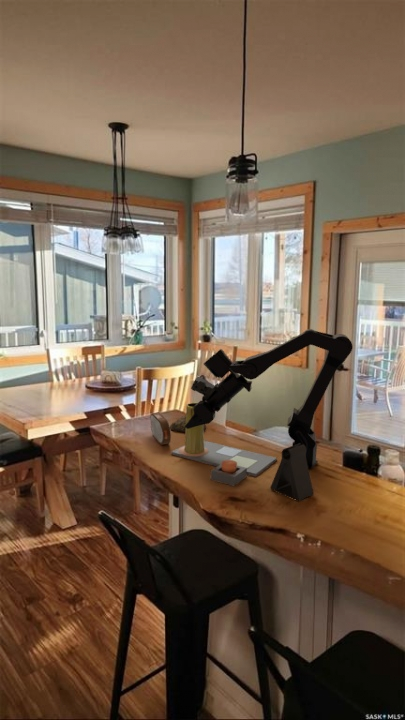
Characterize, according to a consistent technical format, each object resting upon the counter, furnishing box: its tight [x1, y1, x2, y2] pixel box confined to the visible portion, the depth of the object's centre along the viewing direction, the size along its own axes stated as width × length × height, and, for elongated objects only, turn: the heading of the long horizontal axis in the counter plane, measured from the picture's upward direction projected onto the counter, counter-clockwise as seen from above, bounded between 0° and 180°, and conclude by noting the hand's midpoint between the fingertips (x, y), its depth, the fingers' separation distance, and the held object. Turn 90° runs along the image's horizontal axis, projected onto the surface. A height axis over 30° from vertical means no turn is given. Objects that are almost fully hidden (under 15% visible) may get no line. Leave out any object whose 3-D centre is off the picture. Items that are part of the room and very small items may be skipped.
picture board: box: [170, 440, 278, 477], centre depth 140 cm, size 28×14×1 cm, turn 58°
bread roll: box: [169, 414, 207, 433], centre depth 168 cm, size 13×12×5 cm
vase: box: [184, 402, 205, 454], centre depth 142 cm, size 6×6×14 cm
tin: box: [149, 411, 172, 445], centre depth 153 cm, size 15×3×8 cm, turn 22°
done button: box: [222, 460, 237, 473], centre depth 125 cm, size 4×4×2 cm
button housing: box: [210, 464, 247, 487], centre depth 126 cm, size 7×7×2 cm
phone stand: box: [269, 444, 315, 502], centre depth 118 cm, size 9×6×12 cm, turn 41°
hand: (189, 422), depth 142 cm, fingers open, 9 cm apart
